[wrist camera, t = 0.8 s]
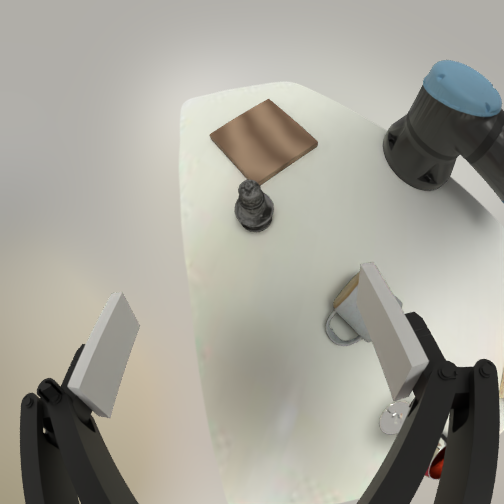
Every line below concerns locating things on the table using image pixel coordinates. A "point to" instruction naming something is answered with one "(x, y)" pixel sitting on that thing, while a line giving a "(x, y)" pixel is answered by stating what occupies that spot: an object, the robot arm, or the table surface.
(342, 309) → the ceramic mug
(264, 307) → the table surface
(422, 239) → the table surface
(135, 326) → the robot arm
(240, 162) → the walnut board
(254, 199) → the weathered metal finial
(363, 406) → the table surface
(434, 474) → the wineglass
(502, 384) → the coffeecake box
